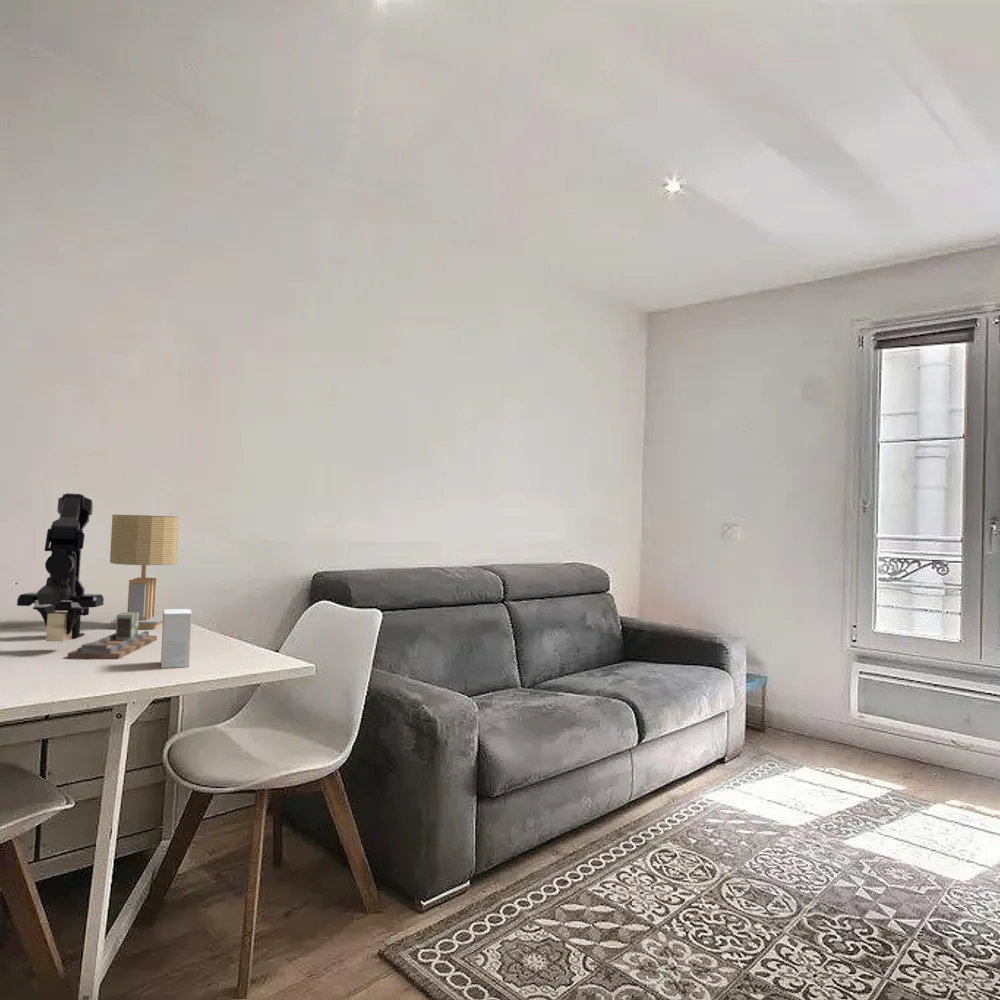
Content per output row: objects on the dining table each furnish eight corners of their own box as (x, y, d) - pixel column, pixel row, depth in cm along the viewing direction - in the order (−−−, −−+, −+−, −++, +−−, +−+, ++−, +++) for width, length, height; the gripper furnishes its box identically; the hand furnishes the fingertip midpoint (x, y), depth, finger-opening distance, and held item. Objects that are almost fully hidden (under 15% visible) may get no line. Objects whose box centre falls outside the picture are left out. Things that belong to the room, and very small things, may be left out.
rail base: (112, 639, 207) (113, 610, 207) (156, 639, 208) (157, 611, 209) (67, 658, 179) (69, 624, 179) (119, 658, 181) (120, 625, 181)
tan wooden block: (55, 637, 190) (57, 610, 190) (72, 638, 190) (73, 611, 190) (46, 641, 184) (47, 613, 185) (62, 641, 185) (64, 613, 185)
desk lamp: (166, 630, 225) (172, 517, 226) (97, 630, 221) (103, 514, 222) (180, 621, 244) (185, 516, 245) (116, 621, 240) (122, 514, 241)
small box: (160, 661, 179) (163, 609, 179) (188, 660, 182) (191, 608, 182) (160, 668, 172) (163, 613, 172) (189, 667, 174) (192, 612, 175)
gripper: (7, 574, 178) (3, 638, 178) (88, 576, 181) (84, 639, 180) (29, 571, 189) (26, 631, 189) (105, 573, 192) (102, 632, 191)
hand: (59, 633), depth 187 cm, fingers closed on tan wooden block, 4 cm apart
